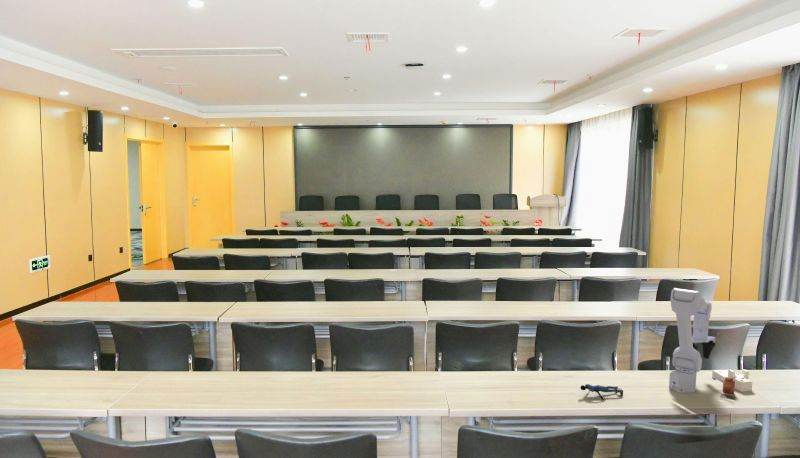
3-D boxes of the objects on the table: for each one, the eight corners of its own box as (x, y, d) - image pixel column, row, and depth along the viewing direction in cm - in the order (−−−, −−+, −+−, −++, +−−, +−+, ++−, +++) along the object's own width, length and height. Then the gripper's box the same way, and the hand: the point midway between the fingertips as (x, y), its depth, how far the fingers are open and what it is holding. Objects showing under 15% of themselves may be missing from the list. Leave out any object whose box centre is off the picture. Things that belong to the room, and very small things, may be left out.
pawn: (728, 394, 222) (729, 380, 221) (720, 390, 225) (721, 376, 225) (736, 394, 222) (737, 379, 222) (728, 390, 226) (729, 375, 226)
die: (740, 394, 225) (741, 382, 225) (731, 389, 230) (732, 377, 230) (751, 393, 226) (752, 381, 226) (742, 388, 231) (742, 376, 231)
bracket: (747, 389, 231) (748, 371, 230) (731, 389, 231) (732, 371, 230) (727, 377, 244) (728, 361, 243) (712, 377, 244) (713, 361, 243)
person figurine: (612, 393, 230) (572, 390, 227) (614, 382, 230) (574, 379, 226) (628, 403, 219) (586, 400, 216) (629, 392, 219) (588, 389, 216)
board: (735, 407, 212) (735, 404, 212) (717, 403, 215) (717, 401, 215) (737, 394, 225) (737, 392, 224) (720, 391, 228) (720, 388, 228)
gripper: (694, 332, 232) (692, 363, 233) (721, 329, 236) (719, 360, 237) (681, 327, 239) (679, 358, 240) (708, 325, 243) (706, 355, 244)
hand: (698, 359), depth 239 cm, fingers open, 7 cm apart
